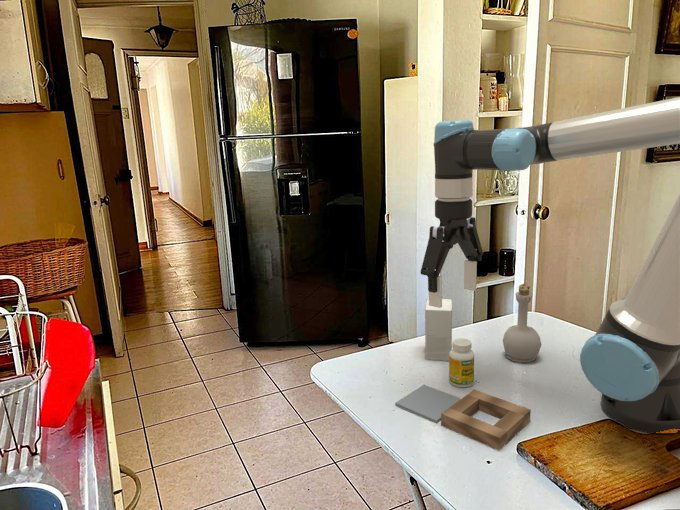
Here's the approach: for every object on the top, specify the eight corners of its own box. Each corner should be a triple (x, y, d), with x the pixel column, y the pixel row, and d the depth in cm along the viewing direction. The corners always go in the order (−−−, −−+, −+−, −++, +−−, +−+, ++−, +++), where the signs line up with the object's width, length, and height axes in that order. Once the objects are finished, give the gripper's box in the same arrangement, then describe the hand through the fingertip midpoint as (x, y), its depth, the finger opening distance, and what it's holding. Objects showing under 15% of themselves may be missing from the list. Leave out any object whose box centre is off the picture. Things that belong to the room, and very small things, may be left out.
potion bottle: (543, 353, 128) (547, 282, 123) (534, 367, 121) (539, 293, 116) (507, 346, 132) (510, 277, 128) (496, 359, 125) (499, 288, 121)
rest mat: (464, 402, 107) (464, 399, 107) (436, 423, 100) (436, 420, 100) (423, 386, 114) (423, 384, 114) (395, 405, 107) (395, 402, 107)
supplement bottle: (461, 374, 119) (461, 334, 117) (479, 383, 115) (480, 342, 112) (443, 381, 116) (444, 341, 114) (461, 390, 112) (462, 349, 109)
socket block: (530, 421, 100) (530, 409, 99) (499, 450, 91) (499, 438, 91) (473, 400, 108) (474, 389, 107) (440, 425, 100) (441, 413, 99)
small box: (426, 346, 134) (426, 297, 131) (451, 347, 133) (452, 298, 130) (424, 360, 127) (424, 309, 123) (451, 361, 125) (452, 310, 122)
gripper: (469, 190, 118) (468, 280, 123) (401, 205, 101) (403, 310, 106) (499, 191, 113) (498, 286, 118) (434, 208, 96) (435, 318, 101)
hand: (453, 297), depth 112 cm, fingers open, 13 cm apart
